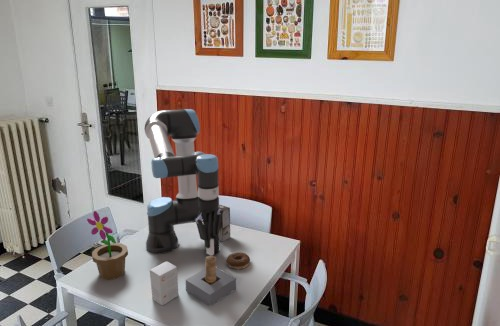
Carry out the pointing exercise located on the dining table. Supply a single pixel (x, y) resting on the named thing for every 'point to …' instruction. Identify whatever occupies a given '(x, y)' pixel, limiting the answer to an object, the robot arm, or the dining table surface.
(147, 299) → the dining table surface
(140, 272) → the dining table surface
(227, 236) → the coffee box
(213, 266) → the oak peg
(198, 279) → the socket block
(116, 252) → the flowerpot
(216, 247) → the supplement bottle
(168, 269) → the small box
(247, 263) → the donut
